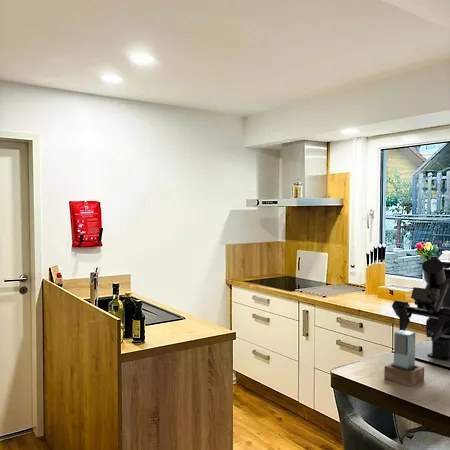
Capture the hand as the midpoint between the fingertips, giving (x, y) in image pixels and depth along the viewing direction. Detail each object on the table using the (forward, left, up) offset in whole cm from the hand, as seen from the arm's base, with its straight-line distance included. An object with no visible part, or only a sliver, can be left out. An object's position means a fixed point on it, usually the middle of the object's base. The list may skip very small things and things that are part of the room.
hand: (415, 337), depth 132 cm
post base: (+7, 0, -11) cm, 12 cm away
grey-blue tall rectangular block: (+7, 0, -11) cm, 12 cm away
